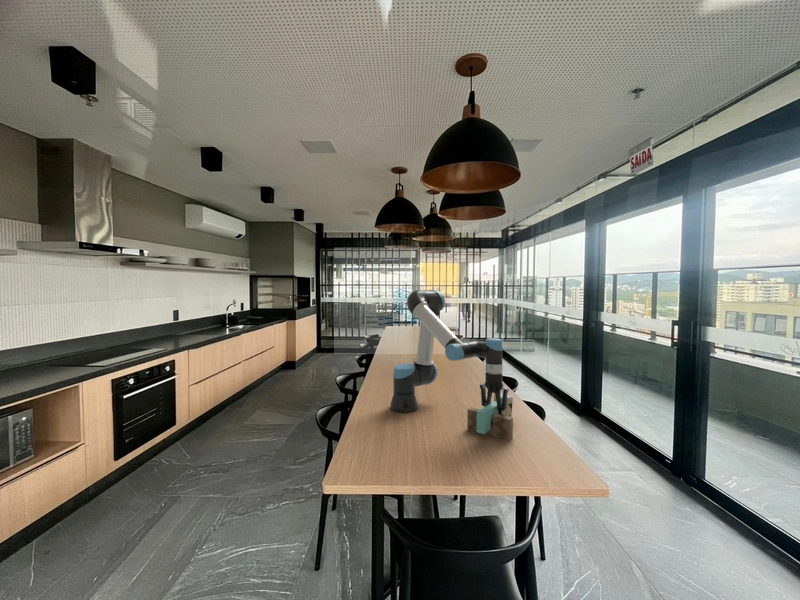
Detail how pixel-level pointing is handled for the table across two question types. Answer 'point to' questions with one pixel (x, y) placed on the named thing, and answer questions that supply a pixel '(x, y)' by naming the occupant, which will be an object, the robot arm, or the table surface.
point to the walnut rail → (493, 424)
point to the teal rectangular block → (486, 417)
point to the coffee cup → (509, 404)
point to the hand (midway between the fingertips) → (493, 423)
